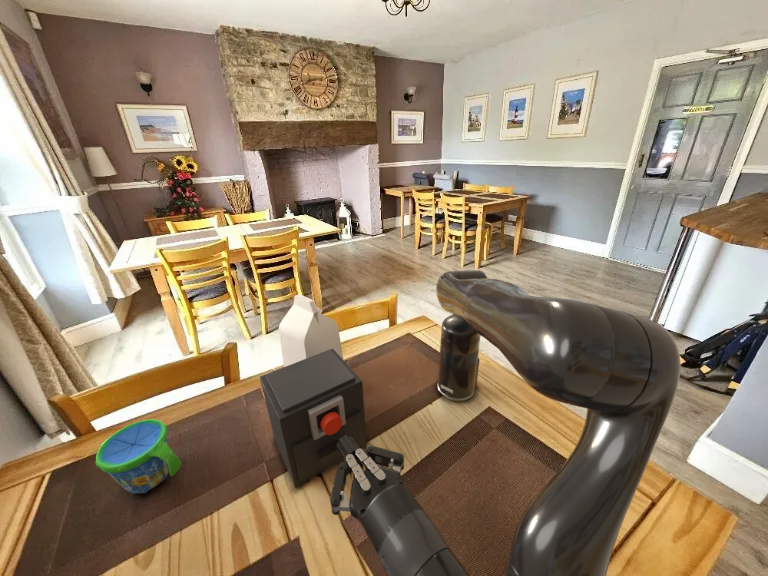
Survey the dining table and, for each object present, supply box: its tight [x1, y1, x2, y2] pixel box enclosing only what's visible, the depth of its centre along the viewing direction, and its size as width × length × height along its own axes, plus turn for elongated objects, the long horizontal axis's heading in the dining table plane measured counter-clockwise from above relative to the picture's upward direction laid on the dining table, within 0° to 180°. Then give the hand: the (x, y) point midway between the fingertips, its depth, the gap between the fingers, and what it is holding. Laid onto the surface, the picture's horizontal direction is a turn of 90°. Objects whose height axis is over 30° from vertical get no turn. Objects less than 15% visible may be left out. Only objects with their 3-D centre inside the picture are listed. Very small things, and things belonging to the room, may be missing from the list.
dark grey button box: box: [259, 348, 368, 489], centre depth 63 cm, size 16×16×19 cm
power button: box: [321, 412, 343, 435], centre depth 55 cm, size 4×2×4 cm, turn 124°
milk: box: [278, 293, 344, 367], centre depth 80 cm, size 12×12×26 cm
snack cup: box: [94, 418, 182, 495], centre depth 60 cm, size 16×10×10 cm
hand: (342, 440), depth 52 cm, fingers closed
